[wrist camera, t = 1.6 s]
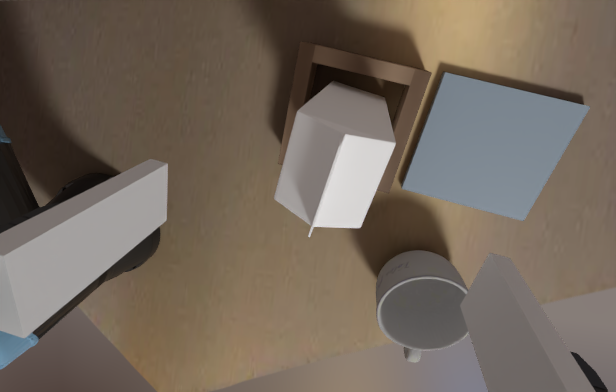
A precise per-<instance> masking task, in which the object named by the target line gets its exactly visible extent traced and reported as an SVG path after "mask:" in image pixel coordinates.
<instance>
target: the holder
mask: <svg viewBox="0 0 616 392" xmlns="http://www.w3.org/2000/svg"><path fill="white" fill-rule="evenodd" d="M317 64H322V65H326V66H330V67H334V68H339V69H343V70H347V71H351V72H355V73H359V74H363V75H368V76H372V77H376V78H380V79H384V80H388V81H392V82H397V83H401V84H405V86H404V89H403V92H402V96H401V99H400V102H399V105H398V108H397V111H396V114H395V117H394V120H393V123H392V129H393V133H394V137H395V141H396V145H395V147H394V150H393V152H392V155H391V157H390V159H389V162H388V164H387V166H386V169H385V171H384V173H383V176H382V178H381V181H380V183H379V185H378V188H377V190H378V191H382V192H386V193H389V191H390V188H391V186H392V183H393V180H394V177H395V174H396V172H397V169H398V166H399V163H400V160H401V158H402V155H403V152H404V149H405V146H406V144H407V141H408V138H409V135H410V132H411V130H412V127H413V124H414V121H415V118H416V116H417V113H418V110H419V107H420V104H421V101H422V99H423V96H424V93H425V90H426V87H427V85H428V82H429V79H430V76H431V72H429V71H426V70H423V69H419V68H414V67H410V66H406V65H402V64H398V63H393V62H389V61H385V60H381V59H376V58H372V57H368V56H364V55H360V54H355V53H351V52H347V51H343V50H339V49H334V48H330V47H326V46H322V45H317V44H313V43H309V42H300V45H299V50H298V56H297V61H296V67H295V72H294V78H293V84H292V89H291V95H290V100H289V106H288V111H287V117H286V122H285V128H284V133H283V139H282V144H281V150H280V155H279V161H278V164H281V165H283V162H284V158H285V154H286V151H287V147H288V143H289V139H290V136H291V132H292V128H293V124H294V121H295V117H296V113H297V111H298V110H299V109H300V108H301V107H302V106H304V105H305V104H306V103H307V102H308V101H310V98H311V93H312V88H313V84H314V79H315V74H316V69H317Z"/></svg>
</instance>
